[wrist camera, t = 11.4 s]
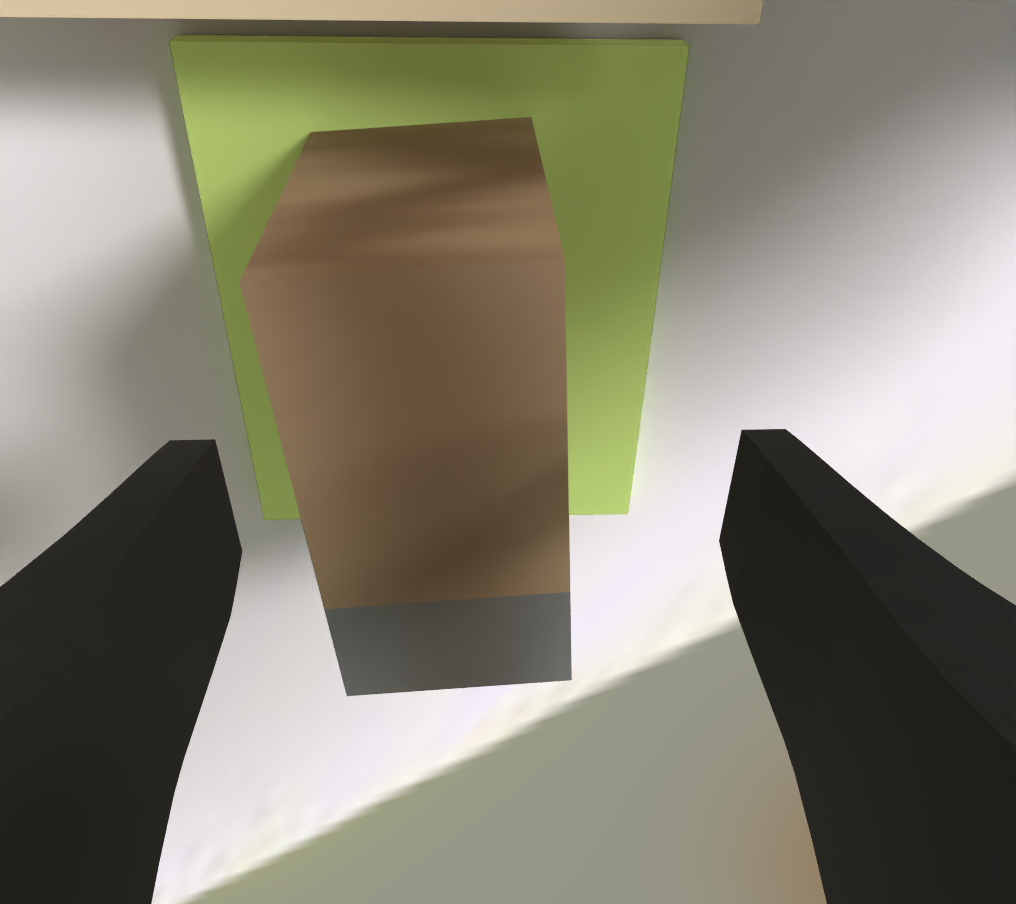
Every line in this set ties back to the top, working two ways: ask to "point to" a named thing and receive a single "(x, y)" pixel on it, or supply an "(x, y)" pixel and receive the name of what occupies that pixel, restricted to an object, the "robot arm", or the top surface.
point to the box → (424, 399)
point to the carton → (404, 10)
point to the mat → (443, 99)
